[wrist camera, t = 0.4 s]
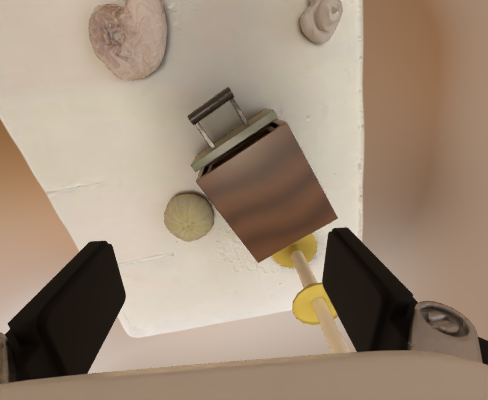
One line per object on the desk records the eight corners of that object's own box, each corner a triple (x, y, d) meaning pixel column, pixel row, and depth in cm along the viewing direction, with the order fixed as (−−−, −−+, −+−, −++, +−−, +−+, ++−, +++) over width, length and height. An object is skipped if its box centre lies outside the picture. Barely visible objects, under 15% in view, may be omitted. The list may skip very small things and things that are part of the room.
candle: (286, 274, 53) (362, 495, 23) (261, 245, 50) (313, 461, 20) (324, 251, 51) (459, 458, 22) (301, 219, 48) (423, 414, 18)
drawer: (174, 126, 39) (164, 131, 32) (247, 74, 36) (251, 69, 30) (247, 225, 47) (250, 244, 40) (310, 187, 44) (324, 202, 38)
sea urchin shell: (214, 191, 42) (212, 234, 39) (215, 206, 50) (213, 244, 47) (162, 188, 42) (155, 233, 38) (170, 204, 49) (165, 243, 46)
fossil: (118, 93, 34) (64, 22, 30) (132, 94, 37) (84, 32, 34) (184, 38, 31) (131, -46, 28) (191, 45, 35) (146, -27, 32)
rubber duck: (302, 52, 37) (320, 39, 29) (292, 1, 34) (309, -26, 27) (336, 39, 36) (363, 24, 29) (328, -13, 34) (356, -45, 26)
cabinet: (201, 166, 42) (195, 181, 34) (274, 117, 40) (286, 122, 32) (253, 236, 49) (258, 263, 41) (318, 198, 46) (338, 218, 38)
